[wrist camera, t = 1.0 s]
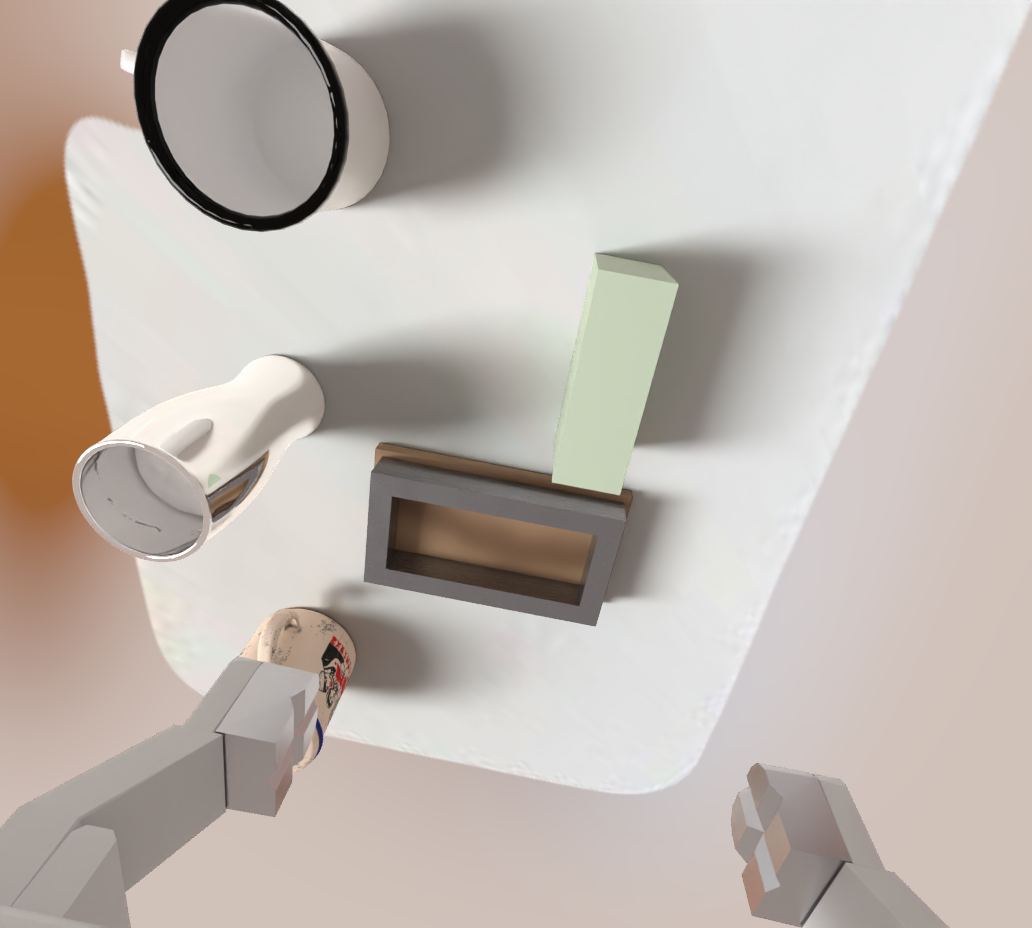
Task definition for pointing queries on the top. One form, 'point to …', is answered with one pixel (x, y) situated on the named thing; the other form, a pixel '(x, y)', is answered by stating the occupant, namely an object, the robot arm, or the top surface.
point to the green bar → (611, 371)
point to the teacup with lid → (308, 659)
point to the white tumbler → (195, 459)
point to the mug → (255, 113)
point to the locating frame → (491, 534)
